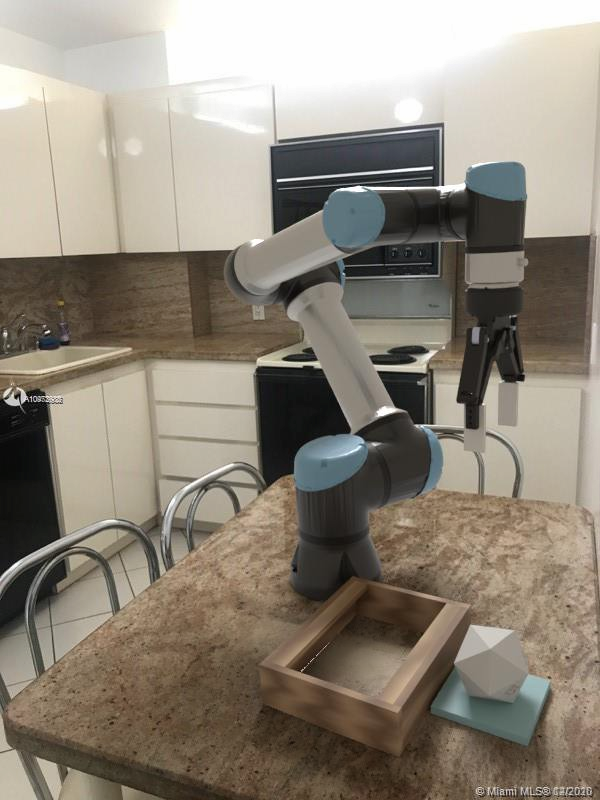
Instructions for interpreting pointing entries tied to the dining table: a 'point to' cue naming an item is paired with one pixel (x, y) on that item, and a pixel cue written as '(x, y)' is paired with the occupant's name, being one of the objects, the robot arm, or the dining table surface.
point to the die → (492, 663)
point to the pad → (494, 708)
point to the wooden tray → (407, 689)
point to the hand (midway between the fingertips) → (492, 437)
